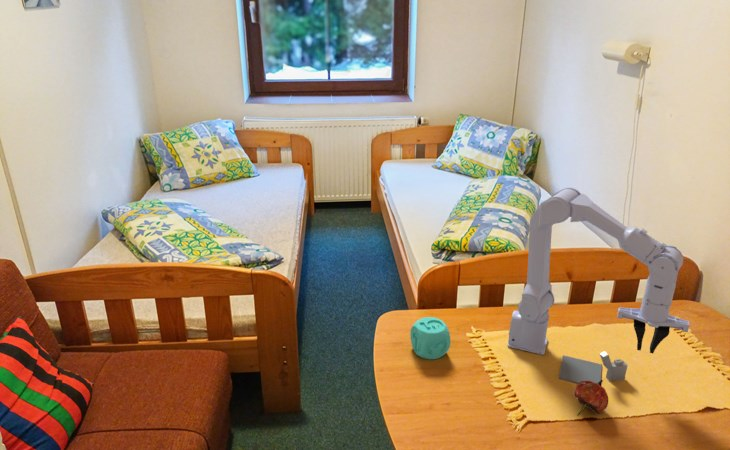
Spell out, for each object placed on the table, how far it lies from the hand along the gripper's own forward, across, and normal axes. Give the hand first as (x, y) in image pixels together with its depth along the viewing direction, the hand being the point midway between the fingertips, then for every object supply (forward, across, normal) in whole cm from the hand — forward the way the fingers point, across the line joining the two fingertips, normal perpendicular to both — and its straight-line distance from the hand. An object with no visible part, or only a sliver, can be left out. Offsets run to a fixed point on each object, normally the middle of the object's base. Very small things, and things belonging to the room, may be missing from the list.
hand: (645, 349), depth 130 cm
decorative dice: (+11, -50, -7) cm, 52 cm away
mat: (+10, -13, 0) cm, 16 cm away
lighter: (+11, -6, 0) cm, 12 cm away
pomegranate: (+11, -10, -14) cm, 20 cm away
